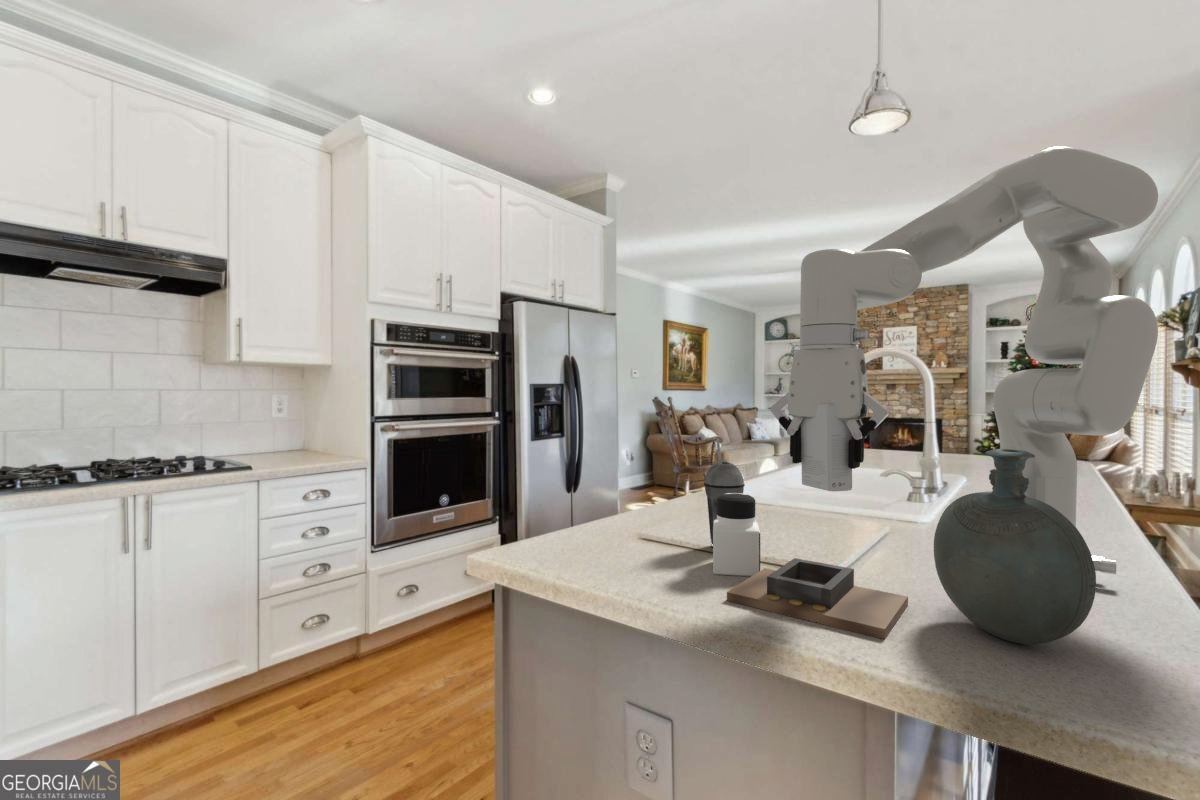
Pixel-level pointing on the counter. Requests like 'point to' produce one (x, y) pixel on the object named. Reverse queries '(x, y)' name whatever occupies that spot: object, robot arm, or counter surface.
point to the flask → (1014, 559)
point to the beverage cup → (721, 485)
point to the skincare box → (825, 451)
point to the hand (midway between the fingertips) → (825, 464)
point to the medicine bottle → (736, 536)
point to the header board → (821, 597)
